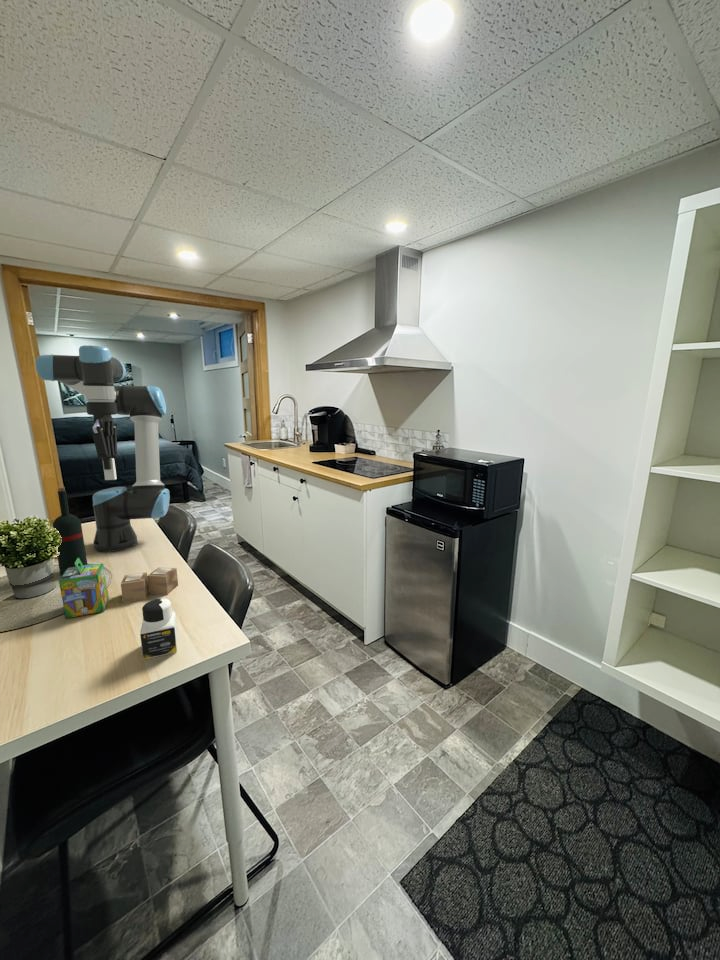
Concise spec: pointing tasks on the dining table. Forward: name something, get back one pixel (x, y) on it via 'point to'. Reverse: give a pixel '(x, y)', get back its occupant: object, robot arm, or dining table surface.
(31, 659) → the dining table surface
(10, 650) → the dining table surface
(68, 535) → the wine bottle
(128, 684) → the dining table surface
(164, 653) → the medicine bottle
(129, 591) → the walnut block
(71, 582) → the chalk box
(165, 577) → the walnut block
